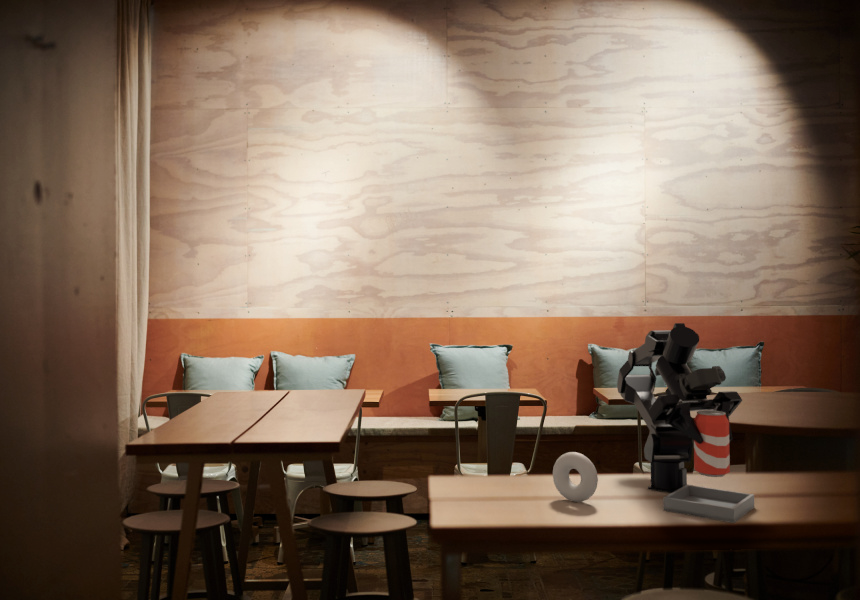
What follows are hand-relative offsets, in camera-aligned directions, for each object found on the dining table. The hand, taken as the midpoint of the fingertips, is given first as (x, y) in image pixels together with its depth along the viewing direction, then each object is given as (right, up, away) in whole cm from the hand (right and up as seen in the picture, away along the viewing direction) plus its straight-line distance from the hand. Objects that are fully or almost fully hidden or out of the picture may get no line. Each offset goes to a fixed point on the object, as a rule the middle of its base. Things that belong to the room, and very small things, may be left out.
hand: (716, 441), depth 133 cm
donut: (-26, -14, +7) cm, 30 cm away
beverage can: (0, -7, +1) cm, 7 cm away
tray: (-1, -13, +1) cm, 13 cm away
